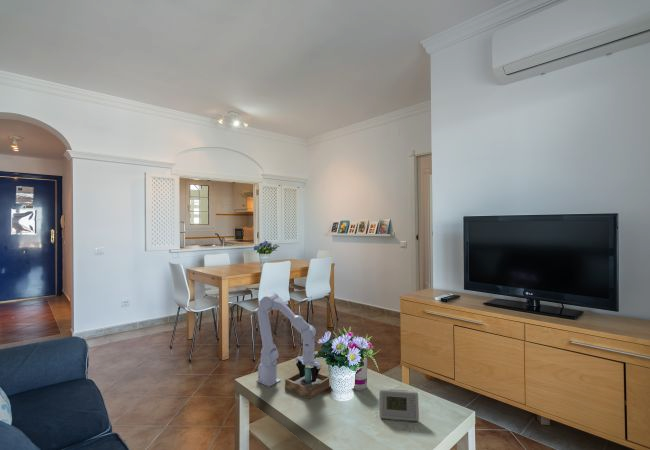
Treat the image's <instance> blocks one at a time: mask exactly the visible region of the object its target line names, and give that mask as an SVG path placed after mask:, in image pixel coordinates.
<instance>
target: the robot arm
mask: <svg viewBox="0 0 650 450" xmlns="http://www.w3.org/2000/svg"><path fill="white" fill-rule="evenodd" d="M258 302H259V303H258V304H259V305H258V307H257V312H256V314H257V320H258V326H259V333H260V339H261V345H262V348H261V351H260V358H259V359H260V363H259V364H258V366H257V379H256V381H257V383H261V384H263V385H264V386H266V387H271V386H273V385H275V384H276V383H278V382H280V381H281V379H279V378H277V377H278V376H277V375H278V372H277V371H278V366H277V365H278V361H277V360H278V358H279V356H280V354H279V350H278V349H277V346H276V344H275V343H274V341H273V340H274V339H273V335H272V334H273V333H272V327H271V322H270V315H269V313H270V311H271V310H272V311H274V310H275V311H280V313H281V314H283V316H285V317H286V318H287V319H288V320H290V324H291V326H292V327H294V328H295V330H296V331H297V332H298V333H300V334H301V335H300V337H301V338H302V356H300V355H299V356H296V358H295V361H296V363H295V365H296V367H297V369H298V372H299V373H300V377H301V378H302V377H304V375H305V367H306V366H307V365H308V366H310V367H311V369H310V370H311V373H312V382H315V381H316V379H317V375H318V373H320V370H321V369H322V363H320V362H318V361H317V360H316V359H315V346H316V345H315V336H316V335H317V330H316V328H315V326H314V325H313V324H310V323H308V322H306V320H305V319H304V317H303V316H300V315H299V314H298V315H296V314H295V313H294V312H293V310H291V309H290V307H289V306H288V305H287V304H286V302H284V301H283V299H282V297H280V296H279V295H278V294H277V293H275V292H272V293H270V294H268V295H266V296H263V297H262V298H261V299H260V300H259V301H258Z"/></svg>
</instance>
